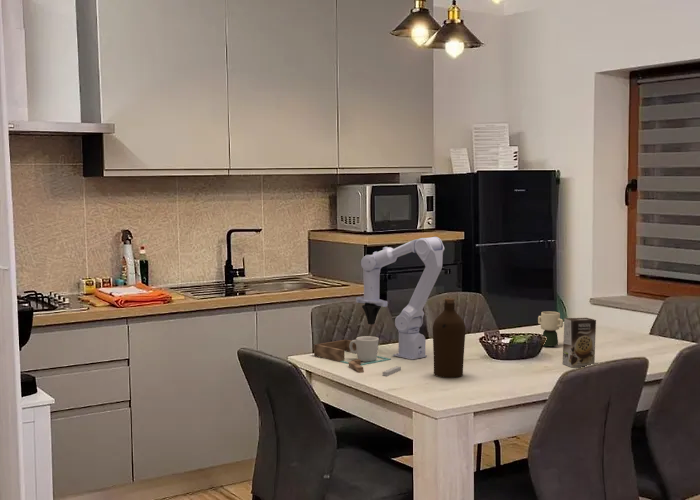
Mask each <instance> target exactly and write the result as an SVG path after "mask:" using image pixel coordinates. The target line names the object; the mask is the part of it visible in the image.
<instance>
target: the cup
mask: <svg viewBox="0 0 700 500" xmlns="http://www.w3.org/2000/svg"><path fill="white" fill-rule="evenodd" d="M379 341H380V339H379V337H377V336H370V335H368V336H367V335H366V336H365V335H364V336H363V335H361V336H358V337H356V338H355V339H353V340H351V342H350V344H349V348H350V351H351V352H350V353H352V354H355V355H356V357H357V359H360V360H361V362H363V363H367V362H373V361H377V356H378V350H379ZM353 343H355V344H356V351H354V350H353V348H352V344H353Z"/></svg>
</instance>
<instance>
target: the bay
mask: <svg viewBox="0 0 700 500" xmlns="http://www.w3.org/2000/svg"><path fill="white" fill-rule="evenodd" d="M377 358H378V359H379V360H375V361H372V362H363V363H361V365H360V366H365V365H370V364H375V363H380V362H381V363H382V362H385V361H390V360H392V359H391V358H389V357H384V356H379V355H377ZM377 358H376V359H377ZM348 362H349V361H346V360H344V361H339V363H343V364H348V365H349V363H348Z"/></svg>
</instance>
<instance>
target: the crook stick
mask: <svg viewBox="0 0 700 500" xmlns="http://www.w3.org/2000/svg"><path fill="white" fill-rule="evenodd" d="M347 362H348V363H349V364H348V367H349V368H350V369H352V370H354V371H356V372H357V373H359V374H360V373H364V366H363V365H361V364H362V363H361V362H362V361H361V360H360V359H358V358H357V359H353V360H351V361H347ZM360 365H361V366H360Z"/></svg>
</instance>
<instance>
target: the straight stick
mask: <svg viewBox="0 0 700 500" xmlns="http://www.w3.org/2000/svg"><path fill="white" fill-rule="evenodd" d="M401 370H402V367H401V366H394V367H391V368H389V369H386V370H384V371H382V376H383V377H389V376H391V375H393V374H395V373H398V372H401Z"/></svg>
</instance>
